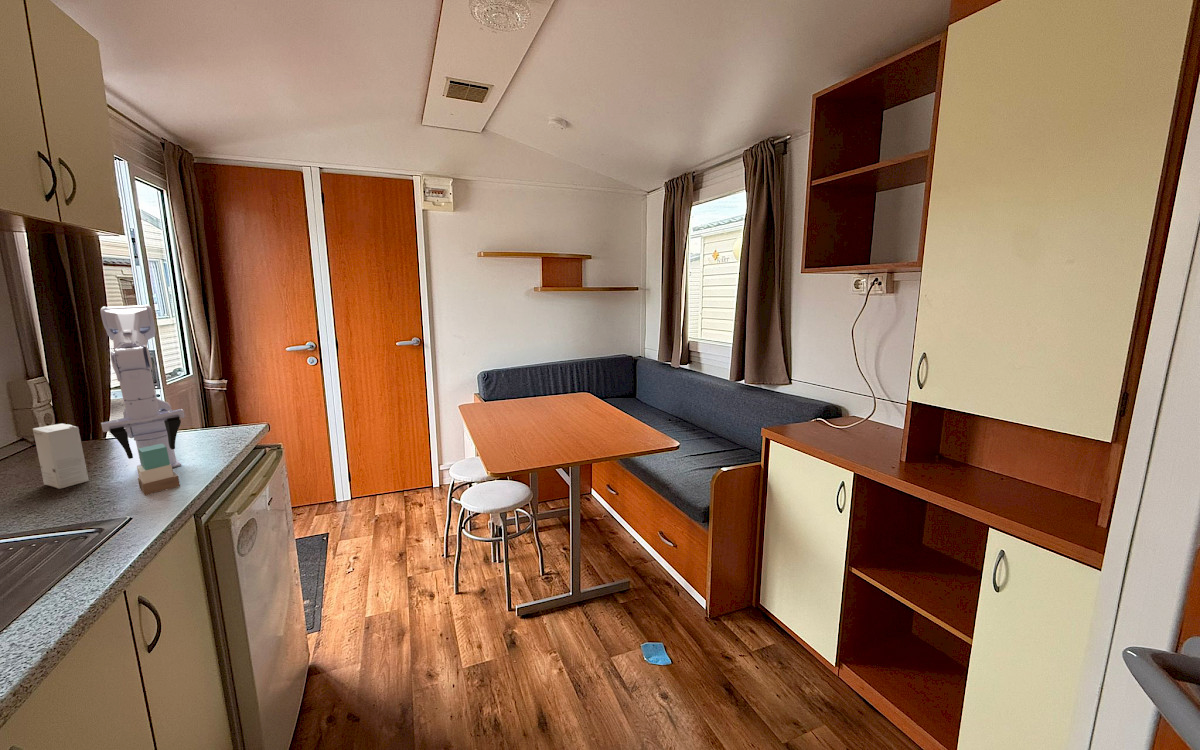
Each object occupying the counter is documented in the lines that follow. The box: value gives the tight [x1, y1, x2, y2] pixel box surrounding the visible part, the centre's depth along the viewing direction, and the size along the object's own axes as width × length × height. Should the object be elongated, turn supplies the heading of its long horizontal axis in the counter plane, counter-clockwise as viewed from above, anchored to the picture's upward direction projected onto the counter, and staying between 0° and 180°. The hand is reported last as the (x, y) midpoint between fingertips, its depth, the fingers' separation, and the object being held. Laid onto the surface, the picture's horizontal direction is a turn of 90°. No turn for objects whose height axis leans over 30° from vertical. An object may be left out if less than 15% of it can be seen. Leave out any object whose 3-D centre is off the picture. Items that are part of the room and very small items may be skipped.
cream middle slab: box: [136, 464, 174, 484], centre depth 120 cm, size 6×6×3 cm
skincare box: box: [32, 423, 90, 490], centre depth 125 cm, size 8×6×15 cm
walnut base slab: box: [137, 469, 181, 496], centre depth 121 cm, size 6×6×3 cm
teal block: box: [137, 444, 170, 470], centre depth 119 cm, size 4×4×4 cm
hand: (152, 452), depth 119 cm, fingers open, 7 cm apart
